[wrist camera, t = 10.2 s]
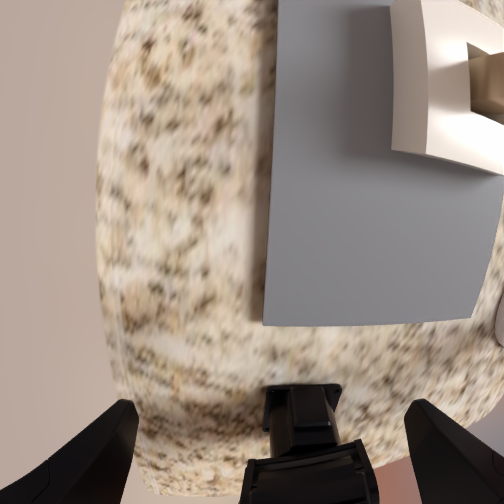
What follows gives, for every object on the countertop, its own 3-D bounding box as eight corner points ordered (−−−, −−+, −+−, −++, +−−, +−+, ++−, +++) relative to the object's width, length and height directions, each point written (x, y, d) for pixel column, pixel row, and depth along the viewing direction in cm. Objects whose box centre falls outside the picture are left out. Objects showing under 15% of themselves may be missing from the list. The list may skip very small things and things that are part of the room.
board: (464, 311, 21) (470, 317, 20) (262, 317, 20) (262, 325, 20) (494, 39, 12) (501, 38, 11) (278, -30, 12) (279, -37, 11)
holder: (498, 175, 15) (534, 186, 12) (391, 149, 15) (425, 153, 12) (497, 53, 12) (531, 47, 8) (389, 5, 12) (417, -18, 8)
